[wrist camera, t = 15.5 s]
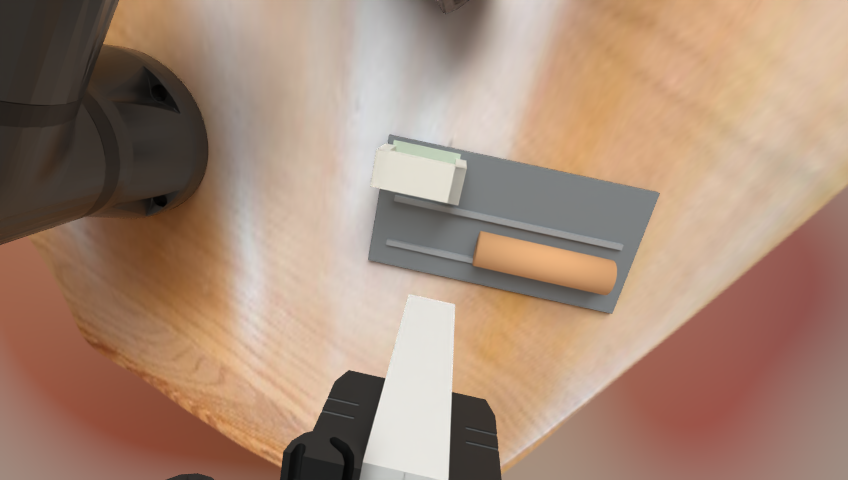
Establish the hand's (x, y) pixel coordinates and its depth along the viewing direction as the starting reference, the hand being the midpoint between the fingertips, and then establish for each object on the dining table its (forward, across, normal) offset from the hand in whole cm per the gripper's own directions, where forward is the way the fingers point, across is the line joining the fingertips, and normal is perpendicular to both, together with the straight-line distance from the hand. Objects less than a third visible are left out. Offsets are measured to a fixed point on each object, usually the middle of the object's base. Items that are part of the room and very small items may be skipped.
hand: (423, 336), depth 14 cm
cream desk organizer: (+26, -2, +1) cm, 26 cm away
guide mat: (+26, +6, -3) cm, 27 cm away
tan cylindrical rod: (+26, +10, -4) cm, 28 cm away
